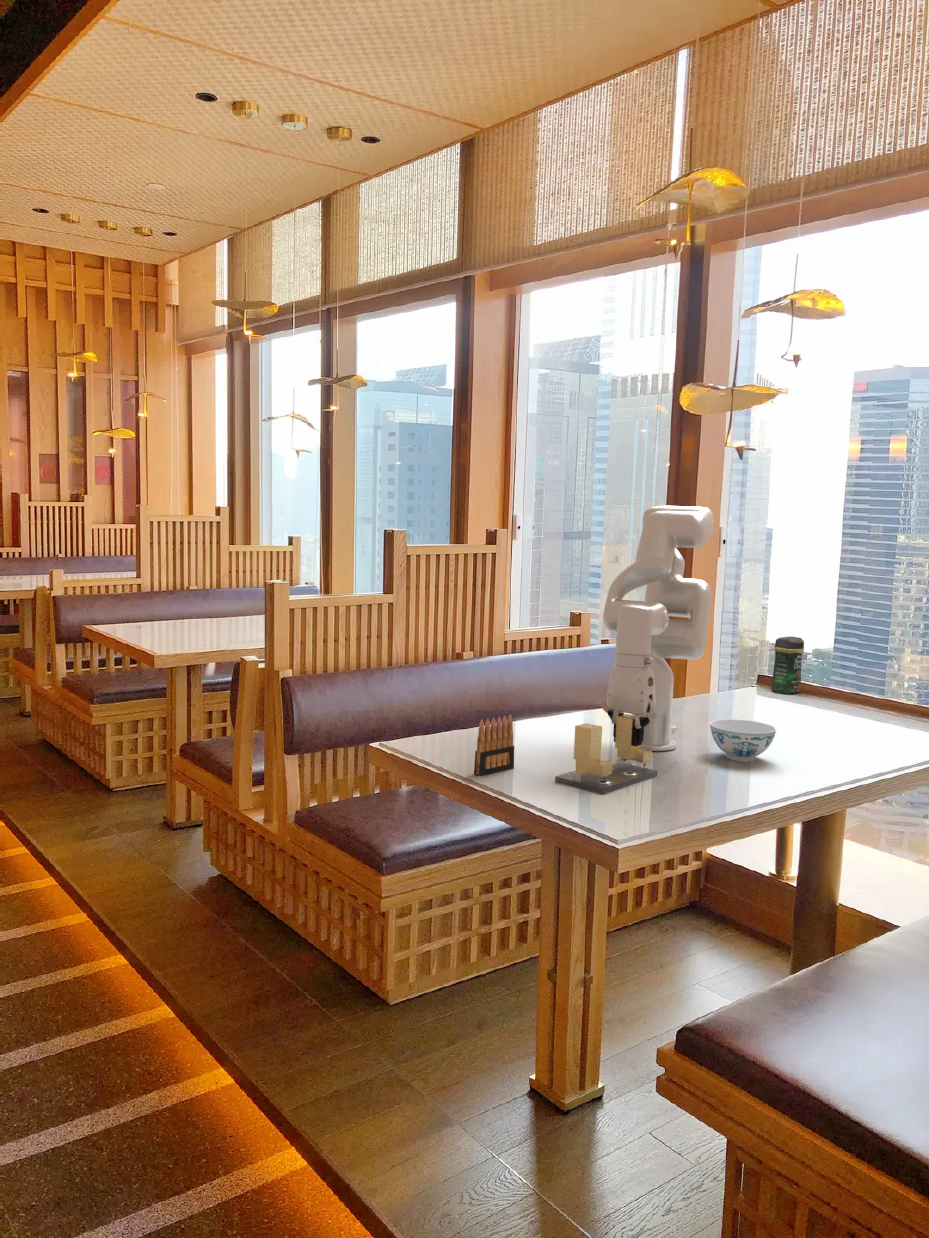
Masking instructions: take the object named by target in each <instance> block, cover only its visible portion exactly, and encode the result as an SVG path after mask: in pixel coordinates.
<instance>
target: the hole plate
mask: <svg viewBox="0 0 929 1238" xmlns="http://www.w3.org/2000/svg"><path fill="white" fill-rule="evenodd" d="M602 732H603V726H601V725H597V724H591V723H587V722H586V723H585V722H584V723H581V724H577V725H574V742H573V760H575V770H572V771H569V772H566V773H563V774H559V775H557V776H554V782H555V783H556V784H562V785H564V786H570V787H573V788H576V789H581V790H585V791H590V792H592V793H597V794H600V795H606V794H609V793H612V792H614V791H617V790H620V789H623V788H626V787H629V786H632V785H635V784H637V783H641V782H643V781H646V780H649V779H652V778H655V777H657V776H658V770H657V769H652V768H647V767H645V766H640V765H634V764H633V763H634V762H633V760H629V759H624V758H620V757H618V758H616V759H612V760H611V759H609V760H604V759H603V760H602V759H601V757H602V756H601V755H602V754H601V753H602V739H603V738H602V736H603V733H602Z"/></svg>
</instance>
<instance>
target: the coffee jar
mask: <svg viewBox="0 0 929 1238" xmlns="http://www.w3.org/2000/svg"><path fill="white" fill-rule="evenodd" d="M804 650H805V641H804V640H803V638H801V637H797V636H783V637H778V638H777V639H775V643H774V663H773V673H772V678H771V686H770V688H771V691H773V692H775V693H777V694H788V695H789V694H790V695H792V694H791V693H793V694H797V693H796V692H797V689H798V687H799V683H800V682H801V683H802V661H803V660H802V659H803V654H804V652H805V651H804Z"/></svg>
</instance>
